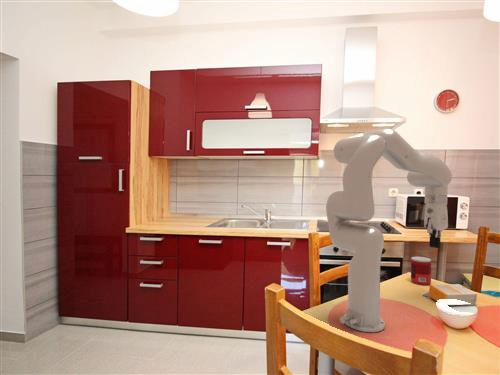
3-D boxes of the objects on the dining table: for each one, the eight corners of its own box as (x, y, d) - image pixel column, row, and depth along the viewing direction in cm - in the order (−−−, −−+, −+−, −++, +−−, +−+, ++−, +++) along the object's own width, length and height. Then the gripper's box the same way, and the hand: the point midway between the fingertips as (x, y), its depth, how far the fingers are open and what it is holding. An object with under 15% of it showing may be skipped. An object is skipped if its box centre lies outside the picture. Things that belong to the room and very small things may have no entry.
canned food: (434, 284, 133) (435, 259, 132) (422, 286, 130) (422, 261, 129) (419, 279, 140) (419, 255, 139) (407, 281, 137) (407, 257, 137)
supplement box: (443, 307, 108) (476, 306, 110) (445, 294, 107) (478, 293, 109) (427, 296, 116) (458, 295, 118) (429, 284, 116) (459, 283, 117)
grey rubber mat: (444, 302, 112) (444, 301, 112) (422, 295, 119) (422, 294, 119) (457, 295, 119) (457, 294, 119) (436, 289, 126) (436, 288, 126)
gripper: (437, 200, 108) (436, 251, 108) (454, 200, 117) (453, 246, 117) (416, 199, 114) (415, 247, 114) (434, 199, 123) (433, 243, 123)
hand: (434, 247), depth 116 cm, fingers closed
